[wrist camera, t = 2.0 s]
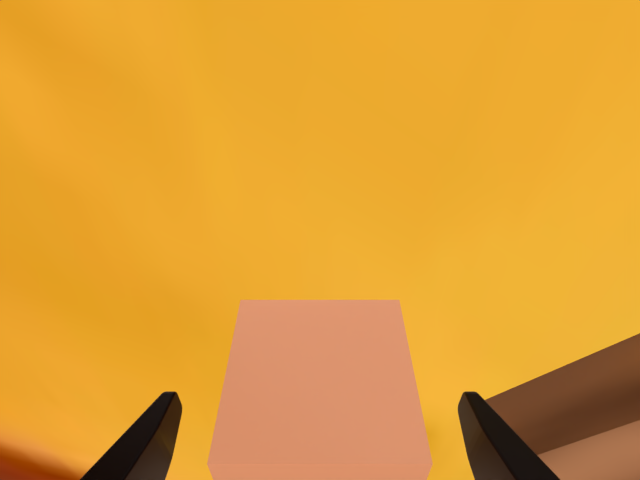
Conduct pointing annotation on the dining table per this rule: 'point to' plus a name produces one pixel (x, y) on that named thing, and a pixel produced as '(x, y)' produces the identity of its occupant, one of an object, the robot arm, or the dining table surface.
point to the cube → (319, 395)
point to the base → (582, 415)
